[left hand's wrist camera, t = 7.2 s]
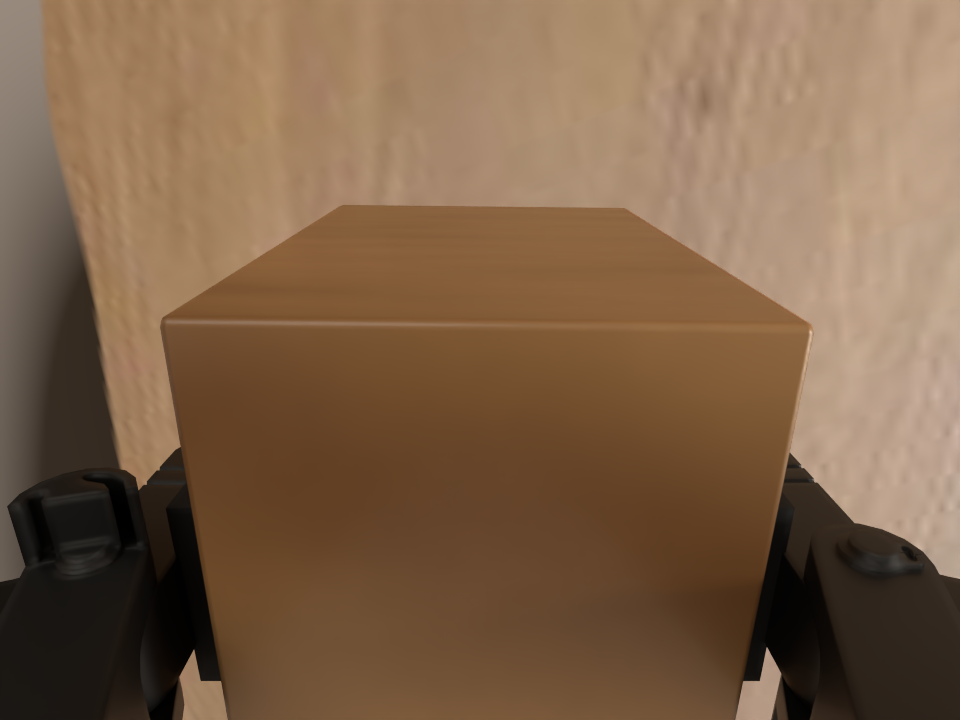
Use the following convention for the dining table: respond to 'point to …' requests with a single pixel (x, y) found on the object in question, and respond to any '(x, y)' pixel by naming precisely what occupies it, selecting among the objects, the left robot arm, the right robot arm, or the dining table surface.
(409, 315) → the beam
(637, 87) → the dining table surface
